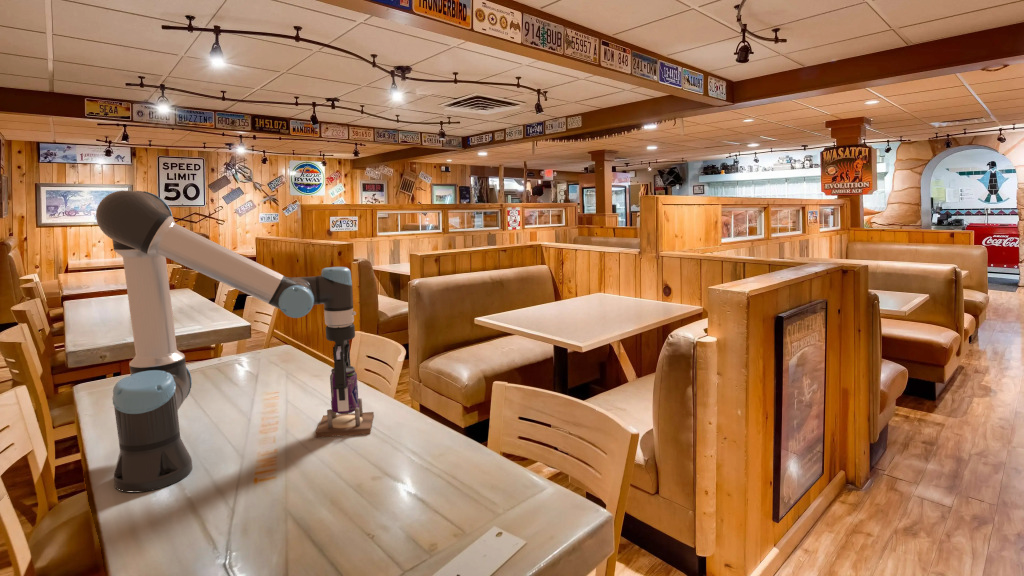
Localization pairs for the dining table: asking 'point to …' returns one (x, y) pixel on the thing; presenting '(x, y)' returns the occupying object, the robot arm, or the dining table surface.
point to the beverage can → (352, 390)
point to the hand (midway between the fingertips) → (345, 405)
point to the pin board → (345, 423)
